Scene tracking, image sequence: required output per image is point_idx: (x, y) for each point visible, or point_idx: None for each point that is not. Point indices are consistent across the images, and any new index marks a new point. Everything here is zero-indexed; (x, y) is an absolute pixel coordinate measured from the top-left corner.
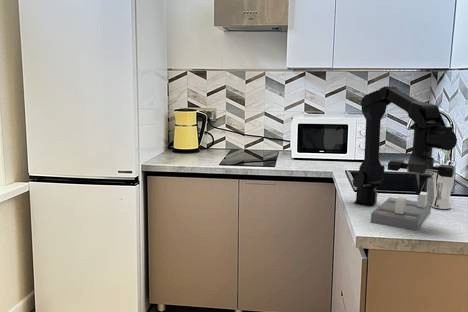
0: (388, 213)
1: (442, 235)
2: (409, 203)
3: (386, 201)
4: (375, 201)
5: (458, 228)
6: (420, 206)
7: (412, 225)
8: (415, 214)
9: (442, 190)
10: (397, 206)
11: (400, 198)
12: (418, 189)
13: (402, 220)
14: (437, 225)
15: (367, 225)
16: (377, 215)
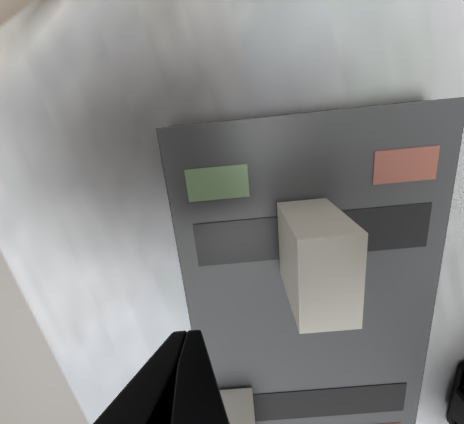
0: (360, 172)
1: (43, 135)
2: (301, 421)
3: (413, 390)
4: (458, 403)
5: (43, 292)
6: (234, 392)
7: (191, 124)
8: (214, 254)
9: None
10: (327, 214)
11: (339, 293)
12: (167, 377)
13: (252, 118)
14: (127, 276)
15: (431, 20)
16: (418, 102)
